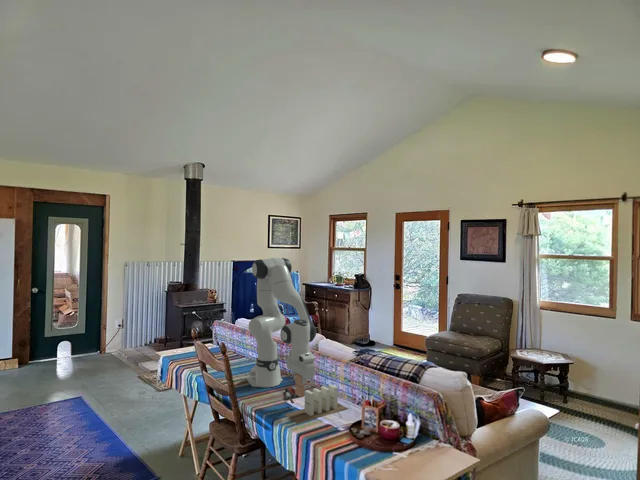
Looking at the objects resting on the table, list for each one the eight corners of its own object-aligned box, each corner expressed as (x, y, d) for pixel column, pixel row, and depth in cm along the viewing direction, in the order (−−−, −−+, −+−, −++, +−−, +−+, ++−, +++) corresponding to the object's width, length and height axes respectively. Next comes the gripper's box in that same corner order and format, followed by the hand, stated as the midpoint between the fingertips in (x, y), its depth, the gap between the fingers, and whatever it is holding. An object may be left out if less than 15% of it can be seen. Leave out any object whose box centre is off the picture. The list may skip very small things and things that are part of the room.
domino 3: (318, 413, 196) (318, 391, 196) (312, 410, 200) (312, 388, 200) (321, 412, 197) (321, 391, 197) (315, 409, 201) (315, 388, 201)
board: (283, 416, 195) (283, 414, 195) (333, 402, 211) (333, 400, 211) (297, 425, 185) (297, 423, 185) (348, 410, 201) (348, 408, 201)
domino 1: (300, 397, 203) (301, 376, 203) (295, 394, 207) (295, 373, 207) (303, 396, 204) (304, 376, 204) (298, 393, 208) (298, 373, 208)
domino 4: (326, 411, 198) (326, 390, 198) (320, 407, 203) (320, 386, 203) (329, 410, 200) (329, 389, 199) (323, 407, 204) (323, 386, 204)
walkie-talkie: (281, 392, 227) (291, 406, 208) (281, 384, 227) (291, 397, 208) (297, 390, 230) (308, 404, 211) (297, 382, 230) (308, 395, 211)
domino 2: (310, 415, 193) (310, 393, 193) (304, 412, 197) (304, 390, 197) (313, 414, 194) (313, 393, 194) (307, 411, 199) (307, 389, 198)
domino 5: (334, 409, 201) (334, 388, 201) (328, 405, 205) (328, 385, 205) (337, 408, 202) (337, 387, 202) (331, 404, 206) (331, 384, 206)
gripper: (284, 349, 212) (283, 377, 212) (306, 360, 195) (305, 390, 195) (294, 348, 215) (294, 375, 216) (317, 358, 199) (316, 387, 199)
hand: (299, 382), depth 205 cm, fingers closed on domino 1, 5 cm apart
